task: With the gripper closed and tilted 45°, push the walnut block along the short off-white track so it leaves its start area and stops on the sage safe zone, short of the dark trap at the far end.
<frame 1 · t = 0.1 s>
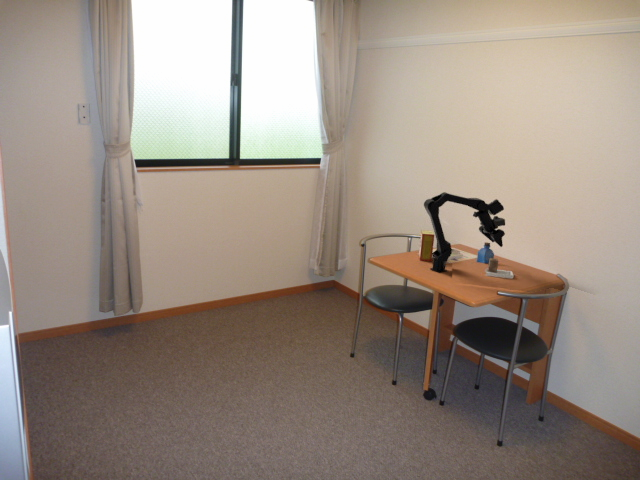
hand: (497, 244, 256), 15 cm above the table, tool tilted 35°, fingers open, 9 cm apart
perfume bottle: (484, 263, 273), on the table
block: (492, 266, 249), point 5 cm above the table, slide at 0.0 cm
trap track: (498, 277, 249), on the table
baking soda box: (425, 258, 277), on the table
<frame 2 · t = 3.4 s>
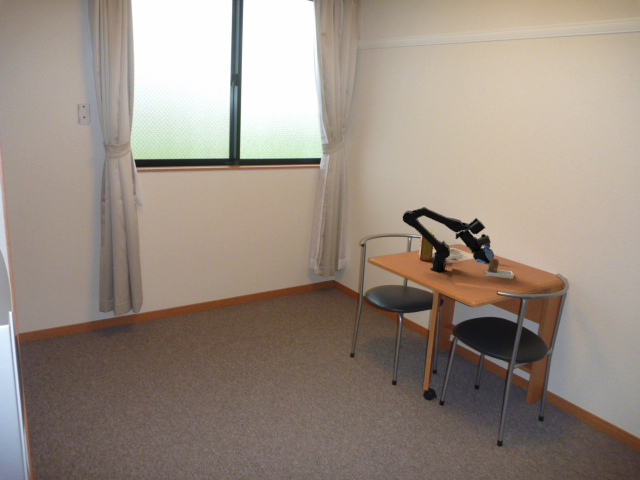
hand: (489, 262, 249), 7 cm above the table, tool tilted 45°, fingers closed, pressing on block
block: (493, 266, 249), point 5 cm above the table, slide at 0.1 cm, touching gripper
everything else where it was.
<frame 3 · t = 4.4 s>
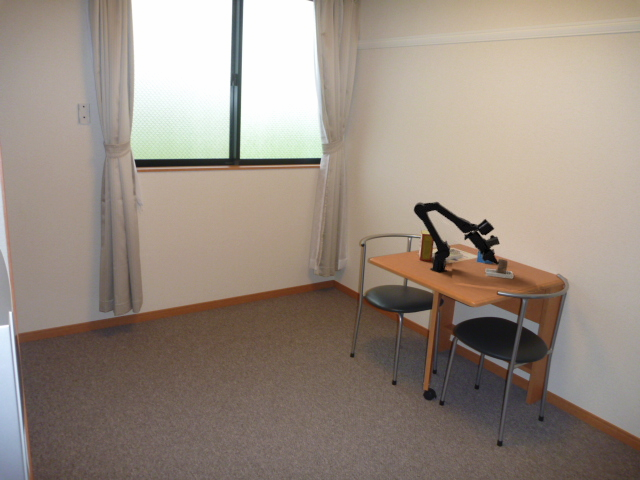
hand: (497, 263, 248), 7 cm above the table, tool tilted 45°, fingers closed, pressing on block
block: (502, 267, 248), point 5 cm above the table, slide at 4.5 cm, touching gripper
everything else where it was.
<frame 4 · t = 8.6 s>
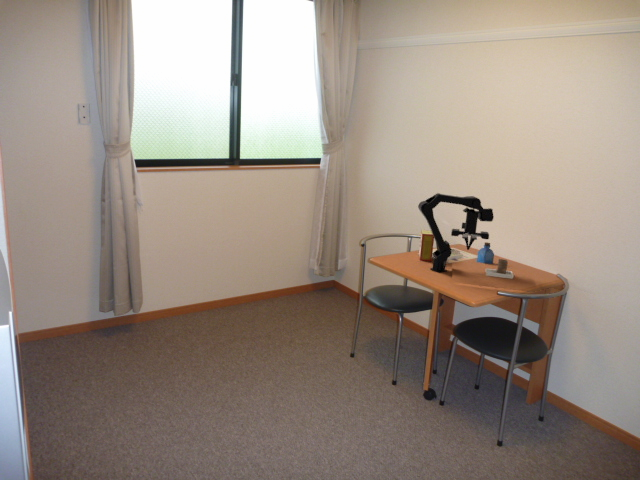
hand: (467, 249, 254), 12 cm above the table, tool pointing down, fingers closed
block: (502, 267, 248), point 5 cm above the table, slide at 4.5 cm
everything else where it was.
at the end: block slide at 4.5 cm; block tilted 0° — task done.
